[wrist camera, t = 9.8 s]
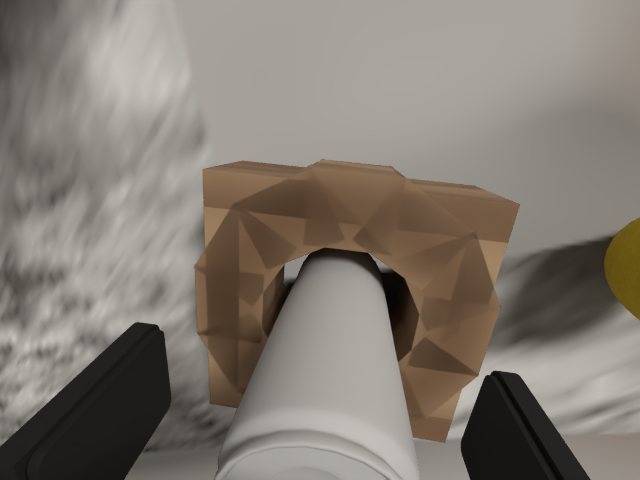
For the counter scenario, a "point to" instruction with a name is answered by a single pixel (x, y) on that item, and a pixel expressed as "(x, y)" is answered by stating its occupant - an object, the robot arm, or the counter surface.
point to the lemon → (625, 267)
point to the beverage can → (325, 384)
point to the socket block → (363, 236)
